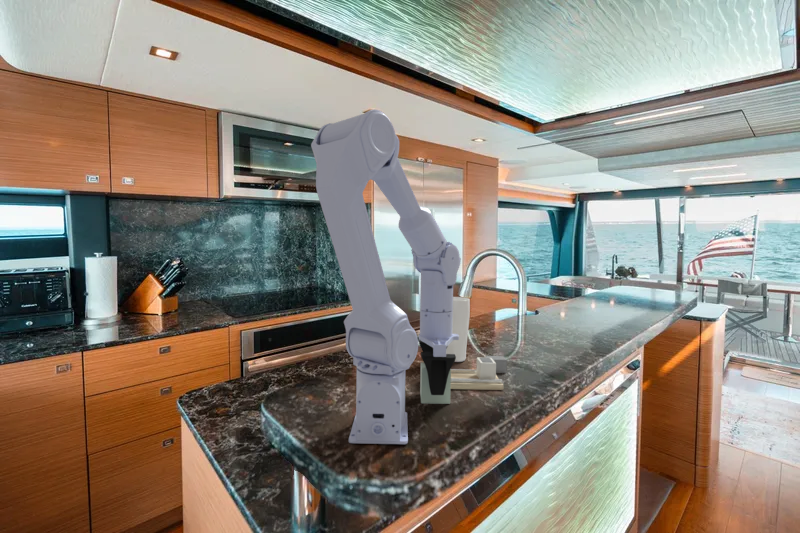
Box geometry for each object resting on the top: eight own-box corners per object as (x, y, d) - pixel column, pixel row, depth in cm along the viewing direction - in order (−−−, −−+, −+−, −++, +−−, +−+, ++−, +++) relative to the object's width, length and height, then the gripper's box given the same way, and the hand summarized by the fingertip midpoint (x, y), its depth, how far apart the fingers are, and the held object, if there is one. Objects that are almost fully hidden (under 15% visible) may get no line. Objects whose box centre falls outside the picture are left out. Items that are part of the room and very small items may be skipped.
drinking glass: (435, 359, 91) (436, 298, 91) (451, 354, 96) (452, 296, 96) (458, 365, 87) (459, 300, 86) (474, 359, 92) (475, 298, 91)
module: (450, 404, 65) (450, 368, 64) (421, 403, 65) (421, 368, 64) (447, 395, 69) (448, 362, 68) (420, 394, 69) (420, 361, 68)
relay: (506, 373, 82) (506, 359, 82) (488, 373, 82) (488, 359, 82) (502, 369, 85) (503, 356, 85) (485, 368, 85) (485, 355, 85)
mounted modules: (495, 381, 74) (496, 362, 73) (429, 379, 74) (429, 361, 74) (490, 374, 78) (491, 357, 77) (427, 373, 78) (428, 356, 78)
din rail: (502, 383, 72) (502, 380, 72) (424, 381, 72) (424, 378, 72) (494, 372, 79) (494, 369, 79) (422, 371, 79) (422, 368, 79)
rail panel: (503, 389, 72) (503, 384, 72) (424, 388, 72) (424, 383, 72) (493, 376, 80) (493, 371, 80) (422, 374, 80) (422, 370, 80)
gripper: (466, 317, 59) (464, 402, 59) (453, 304, 73) (452, 373, 74) (421, 316, 59) (419, 402, 59) (417, 304, 73) (416, 372, 74)
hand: (435, 386), depth 67 cm, fingers open, 7 cm apart
